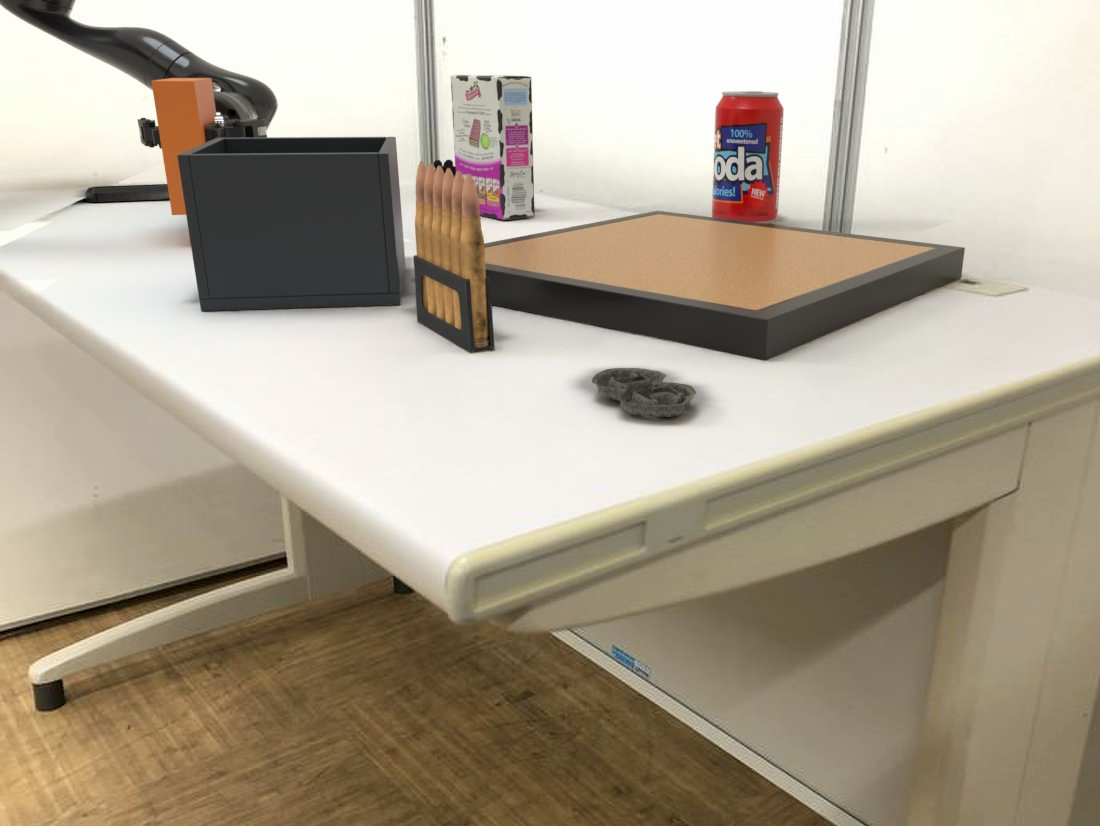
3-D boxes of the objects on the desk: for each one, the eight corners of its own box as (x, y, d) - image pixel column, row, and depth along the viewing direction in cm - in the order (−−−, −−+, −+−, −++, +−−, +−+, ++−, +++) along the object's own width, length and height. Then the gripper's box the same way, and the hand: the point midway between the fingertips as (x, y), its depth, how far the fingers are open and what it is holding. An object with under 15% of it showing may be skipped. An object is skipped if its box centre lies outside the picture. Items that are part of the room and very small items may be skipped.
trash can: (200, 311, 84) (176, 155, 80) (235, 272, 99) (216, 137, 94) (400, 305, 87) (388, 153, 82) (405, 268, 101) (395, 136, 97)
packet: (171, 215, 109) (151, 80, 104) (190, 203, 117) (172, 78, 112) (212, 214, 110) (193, 80, 105) (228, 202, 118) (211, 78, 113)
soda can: (788, 223, 128) (796, 91, 122) (757, 232, 122) (764, 93, 116) (731, 217, 132) (737, 89, 126) (699, 225, 126) (703, 91, 120)
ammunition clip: (416, 320, 82) (404, 160, 78) (439, 318, 83) (428, 159, 78) (470, 353, 74) (461, 175, 69) (495, 349, 75) (487, 174, 70)
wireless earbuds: (466, 195, 149) (465, 158, 147) (473, 197, 147) (471, 159, 145) (419, 198, 146) (416, 160, 144) (425, 200, 144) (422, 162, 142)
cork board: (416, 289, 92) (765, 360, 73) (414, 256, 91) (767, 319, 72) (656, 236, 118) (961, 278, 99) (657, 210, 117) (964, 247, 98)
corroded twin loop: (644, 378, 68) (645, 362, 68) (714, 413, 62) (715, 396, 61) (575, 389, 66) (575, 373, 65) (640, 427, 59) (640, 409, 59)
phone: (89, 186, 145) (206, 182, 150) (91, 195, 145) (207, 190, 150) (84, 193, 138) (207, 189, 143) (86, 202, 139) (208, 197, 144)
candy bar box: (537, 217, 131) (533, 75, 124) (503, 221, 128) (497, 76, 121) (488, 207, 138) (482, 73, 132) (455, 210, 136) (447, 73, 129)
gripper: (283, 158, 126) (261, 174, 111) (157, 159, 124) (116, 176, 108) (275, 91, 124) (252, 98, 108) (146, 91, 121) (103, 98, 106)
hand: (184, 137), depth 108 cm, fingers closed on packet, 4 cm apart
